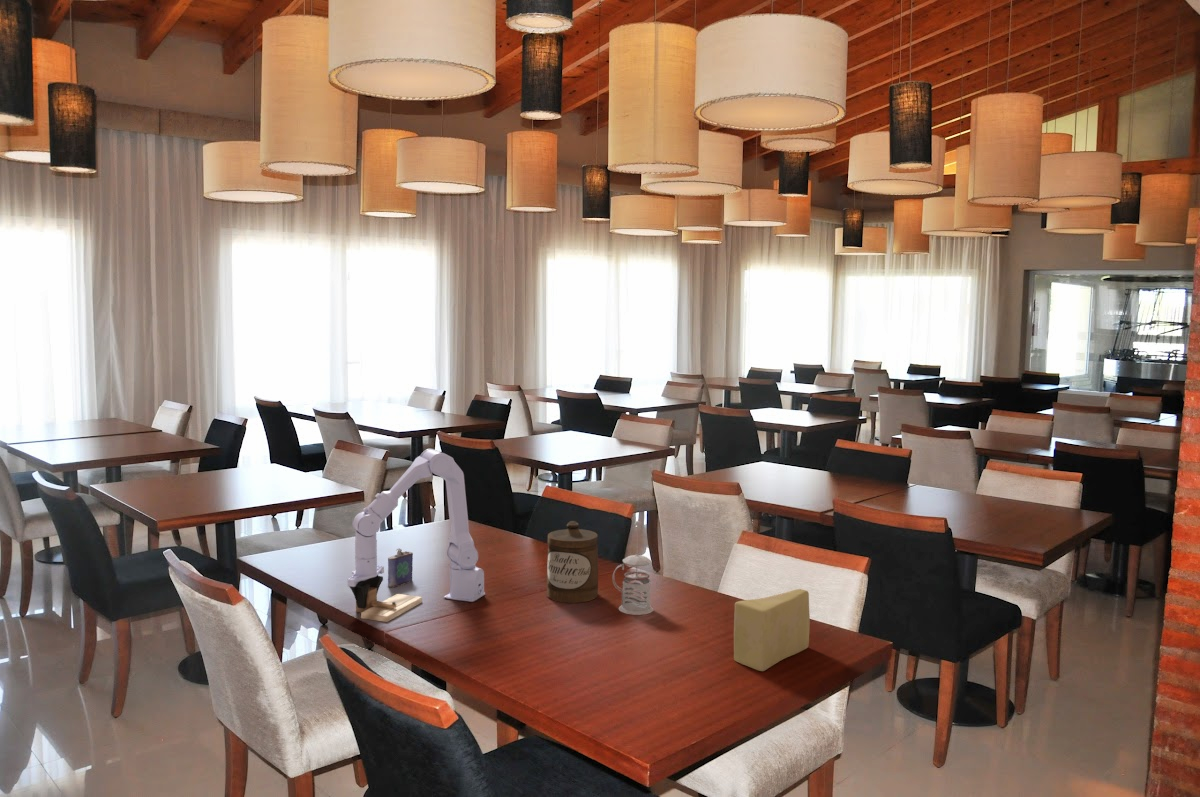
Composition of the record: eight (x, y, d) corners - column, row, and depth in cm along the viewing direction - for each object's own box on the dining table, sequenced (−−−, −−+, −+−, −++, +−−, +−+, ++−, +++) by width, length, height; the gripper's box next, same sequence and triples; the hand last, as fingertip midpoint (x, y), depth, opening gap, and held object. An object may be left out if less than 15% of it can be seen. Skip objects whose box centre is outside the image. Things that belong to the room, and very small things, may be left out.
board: (422, 602, 262) (422, 596, 262) (387, 621, 245) (387, 616, 245) (397, 598, 264) (397, 593, 264) (361, 618, 247) (361, 612, 247)
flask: (392, 588, 274) (391, 552, 273) (385, 586, 276) (384, 551, 275) (414, 581, 282) (414, 546, 281) (407, 579, 283) (407, 545, 283)
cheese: (791, 641, 236) (793, 583, 234) (822, 652, 228) (824, 593, 227) (731, 660, 222) (732, 599, 220) (762, 673, 214) (764, 610, 213)
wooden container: (539, 600, 265) (540, 524, 263) (557, 585, 280) (557, 514, 277) (588, 605, 261) (589, 529, 259) (604, 591, 275) (605, 518, 273)
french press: (650, 616, 253) (652, 526, 251) (609, 612, 255) (610, 523, 253) (655, 605, 263) (657, 518, 260) (615, 601, 265) (617, 515, 263)
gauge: (399, 612, 253) (399, 587, 252) (391, 616, 249) (391, 591, 248) (364, 607, 256) (364, 583, 256) (356, 611, 253) (355, 587, 252)
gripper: (368, 548, 261) (368, 596, 262) (337, 561, 247) (338, 611, 248) (390, 551, 258) (390, 599, 259) (360, 564, 245) (360, 614, 246)
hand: (366, 605), depth 254 cm, fingers closed on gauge, 4 cm apart
